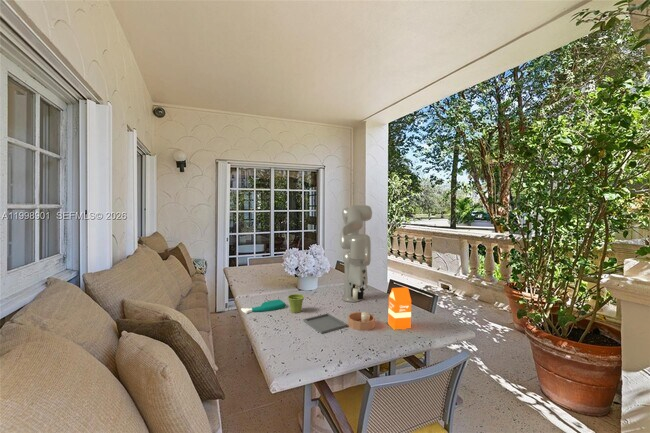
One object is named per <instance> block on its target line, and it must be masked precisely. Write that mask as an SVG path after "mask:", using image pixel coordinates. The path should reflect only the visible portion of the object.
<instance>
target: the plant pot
mask: <svg viewBox="0 0 650 433" xmlns="http://www.w3.org/2000/svg"><path fill="white" fill-rule="evenodd" d="M304 298H305V296H304V294H301V293H295V294H294V293H293V294H290V295H288V296H287V299H288V303H289V310H290V313H292V314H298V313H299V314H300V313H301V312H302V307H303V301H304Z"/></svg>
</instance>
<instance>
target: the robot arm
mask: <svg viewBox="0 0 650 433" xmlns="http://www.w3.org/2000/svg"><path fill="white" fill-rule="evenodd" d="M341 214H342V216H341V217H342V219H343V222H344V226H343V227H342V228H341V230H340V235H339V236H340V237H339V238H340V240H339V241H340V242H339V243H340V247H341V249H343V250H348V251H345V252H344V253H343V264H344V265H343V266H344V282H343V283H344V288H343V289H344V290H343V295H342V296H341V301H345V302H348V303H357V302H360V301H362V300H363V299H364V295H365V290H366V289H368V288H369V286H368V279H369V278H368V269H367V266H369V265H370V264H371V260H372V258H371V254H372V252H371V251H372V250H371V248H372V247H371V246H372V244H371V243H372V242H371V237H370V235H368V234H367V233H366V234H365V233H364V234H361V233H360V230H361V229H362V228H363V226H364V223H363V222H368V221H370V220H371V219H372V218H373V217H372V216H373V210H372V207H371V206H370V205H367V204H366V205H363V204H361V205H360V204H359V205H358V204H357V205H356V204H353V205H350V206H349V207H345V208H343V209H342V211H341ZM353 288H358V290H359V292H358V300H354V299H353Z"/></svg>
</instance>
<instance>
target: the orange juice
mask: <svg viewBox="0 0 650 433" xmlns="http://www.w3.org/2000/svg"><path fill="white" fill-rule="evenodd" d="M387 312H388V317H387V318H388V319H387V320H388V321H387V325H389V327H391V328H392V329H393V330H394V331H396V330H395V329H402V330H407V329H406V328H411V326H412V322H411V321H412V298H411V294H410V290H409V287H408V286H405V287H391V291H390V293H389V295H388V310H387Z"/></svg>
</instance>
